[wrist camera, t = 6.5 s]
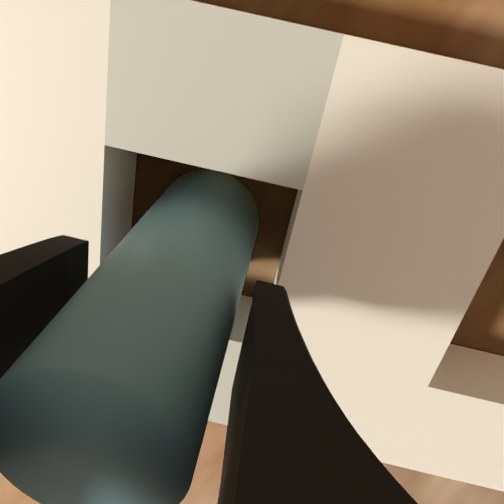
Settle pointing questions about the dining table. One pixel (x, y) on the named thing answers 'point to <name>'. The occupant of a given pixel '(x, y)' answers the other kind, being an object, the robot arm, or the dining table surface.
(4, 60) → the peg board
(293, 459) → the robot arm
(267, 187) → the dining table surface
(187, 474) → the peg
